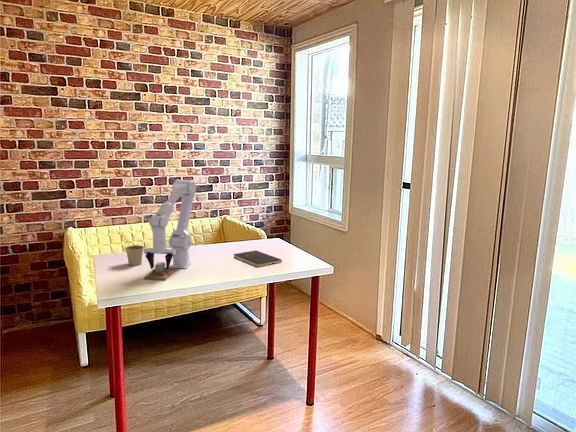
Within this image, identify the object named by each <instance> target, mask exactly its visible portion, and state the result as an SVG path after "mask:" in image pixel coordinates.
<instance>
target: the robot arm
mask: <svg viewBox="0 0 576 432" xmlns="http://www.w3.org/2000/svg"><path fill="white" fill-rule="evenodd" d="M196 191H197V185H196V183H195V181H194V180H193V179H190V180H189V179H175V180H174V182H173V183H172V191H171V192H170V194H169V196H168V199H166V202H163V203H162V204H161V205H160V207H159V209H158V210H157V212H156V213H155V214H153V215H152V216H151V217H150V219H149V222H148V223H149V226H150V229H151V231H152V247H151V248H144V249H143V254H145V258H146V260H147V261H148V263H149V266H150V269H151V270H153V269H155V261H154V260H155V254H157V255H165V256H164V258H165V268H166V269H167V270H168V269H169V268H171V269H185V270H186V269H187V268H188V267H189V266H190V265H191V264H192V262H190V251H189V249H190V248H191V245H192V239H191V238H192V235H191V234H190V233H189V231H188V230H189V229H188V228H189V224H190V218H191V213H192V208H193V203H194V198H195V197H196ZM179 198H181V199H182V200H181V205H180V211H179V214H178V215H179V216H178V219H177V220H178V221H177V227H176V229H175V230H173V231H172V232H171V236H170V238H169V239H168V246H169V247H170V248H167V244H166V243H167V241H166V239H167V238H166V227H167V226H168V224H169V219H170V216H171V214H172V212H173V211H174V209H175V208H174V205H175V203H176V202H177V201H178V199H179ZM171 261H172V265H171Z"/></svg>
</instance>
